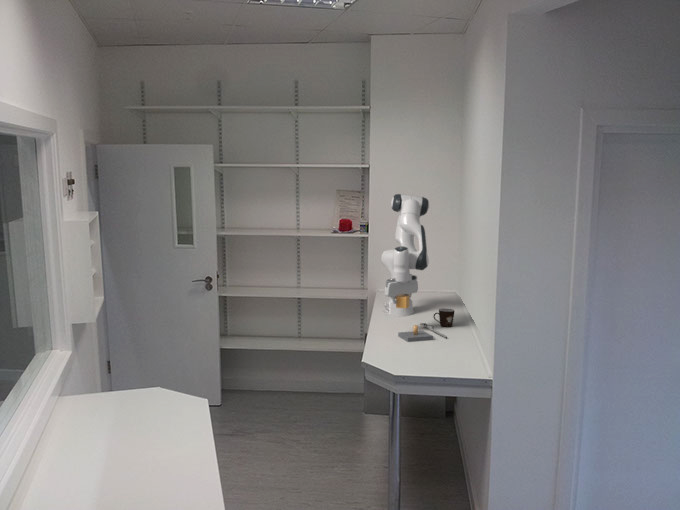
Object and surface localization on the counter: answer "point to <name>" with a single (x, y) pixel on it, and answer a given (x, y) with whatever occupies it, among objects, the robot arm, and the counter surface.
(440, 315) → the coffee mug
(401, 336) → the flat gray plate
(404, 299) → the tan wooden cube
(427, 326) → the caliper
